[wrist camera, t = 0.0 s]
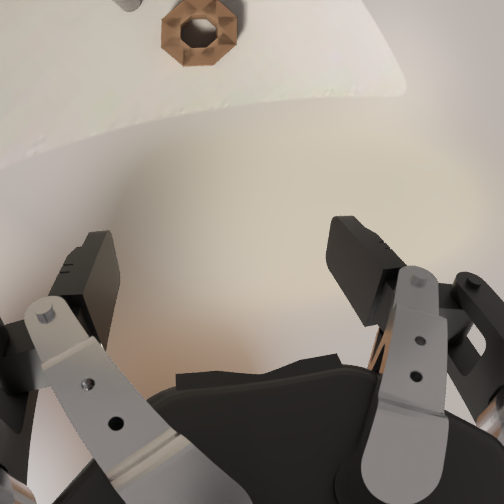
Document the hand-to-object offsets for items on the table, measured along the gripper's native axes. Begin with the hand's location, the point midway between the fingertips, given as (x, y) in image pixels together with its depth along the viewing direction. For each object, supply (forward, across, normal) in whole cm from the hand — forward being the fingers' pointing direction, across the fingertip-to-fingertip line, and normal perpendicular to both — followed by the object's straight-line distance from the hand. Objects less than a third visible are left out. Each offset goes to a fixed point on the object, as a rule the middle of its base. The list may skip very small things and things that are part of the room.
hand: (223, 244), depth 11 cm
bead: (+29, 0, -11) cm, 31 cm away
